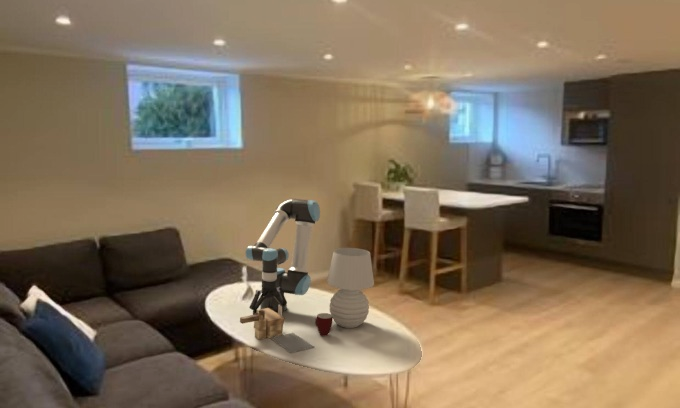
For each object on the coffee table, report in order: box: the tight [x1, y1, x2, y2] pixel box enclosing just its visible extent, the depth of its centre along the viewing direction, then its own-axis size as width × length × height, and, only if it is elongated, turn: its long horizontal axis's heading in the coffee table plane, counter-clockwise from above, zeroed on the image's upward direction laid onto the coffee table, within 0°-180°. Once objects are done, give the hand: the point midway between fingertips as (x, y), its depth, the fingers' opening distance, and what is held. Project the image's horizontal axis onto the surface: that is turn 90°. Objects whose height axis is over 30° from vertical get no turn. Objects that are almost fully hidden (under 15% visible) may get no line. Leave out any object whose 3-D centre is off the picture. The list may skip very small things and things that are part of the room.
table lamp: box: [326, 247, 375, 329], centre depth 275 cm, size 25×25×40 cm
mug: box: [314, 312, 334, 337], centre depth 262 cm, size 11×8×10 cm
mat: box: [270, 332, 315, 354], centre depth 250 cm, size 13×20×1 cm, turn 36°
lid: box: [257, 308, 285, 327], centre depth 262 cm, size 9×17×3 cm, turn 36°
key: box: [239, 310, 265, 324], centre depth 250 cm, size 12×2×4 cm, turn 126°
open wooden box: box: [253, 313, 284, 340], centre depth 261 cm, size 13×16×12 cm
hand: (268, 319), depth 262 cm, fingers open, 13 cm apart
